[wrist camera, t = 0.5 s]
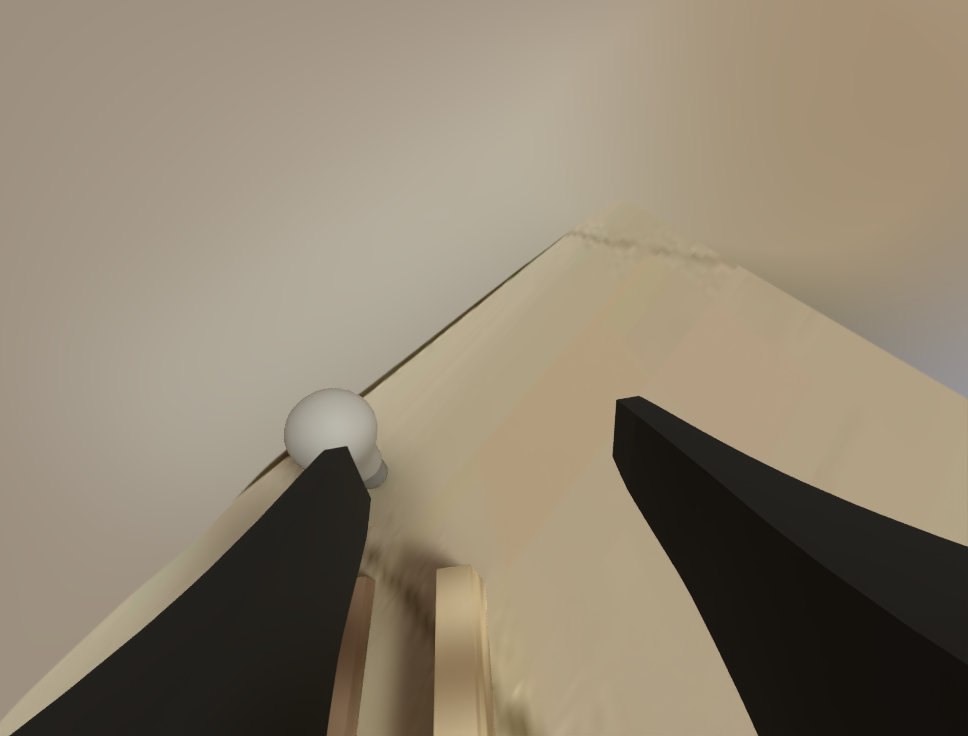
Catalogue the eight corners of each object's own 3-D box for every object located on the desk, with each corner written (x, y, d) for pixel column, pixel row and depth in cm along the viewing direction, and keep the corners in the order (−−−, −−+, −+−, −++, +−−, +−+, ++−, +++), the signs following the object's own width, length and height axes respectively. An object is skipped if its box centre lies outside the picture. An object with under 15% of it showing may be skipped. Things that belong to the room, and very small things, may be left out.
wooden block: (501, 821, 16) (482, 860, 13) (461, 825, 17) (431, 862, 13) (485, 583, 23) (469, 564, 20) (457, 586, 24) (436, 568, 20)
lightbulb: (334, 513, 29) (244, 448, 21) (357, 448, 33) (290, 373, 25) (401, 514, 28) (333, 446, 20) (417, 447, 32) (366, 368, 24)
